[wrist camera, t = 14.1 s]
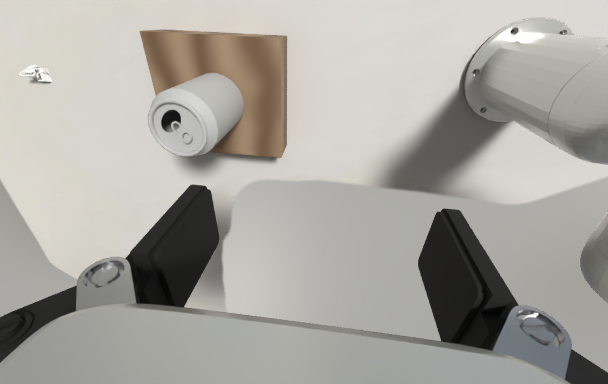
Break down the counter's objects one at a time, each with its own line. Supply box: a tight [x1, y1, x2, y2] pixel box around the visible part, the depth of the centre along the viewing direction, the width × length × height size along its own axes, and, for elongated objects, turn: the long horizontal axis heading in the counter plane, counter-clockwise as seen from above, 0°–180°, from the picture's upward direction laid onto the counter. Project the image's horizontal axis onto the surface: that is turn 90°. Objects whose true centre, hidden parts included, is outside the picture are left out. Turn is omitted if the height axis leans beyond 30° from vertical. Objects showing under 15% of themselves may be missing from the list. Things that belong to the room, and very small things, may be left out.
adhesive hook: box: [19, 65, 52, 82], centre depth 43 cm, size 3×3×3 cm
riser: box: [140, 30, 287, 158], centre depth 40 cm, size 18×16×5 cm
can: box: [148, 73, 244, 157], centre depth 33 cm, size 8×8×12 cm
